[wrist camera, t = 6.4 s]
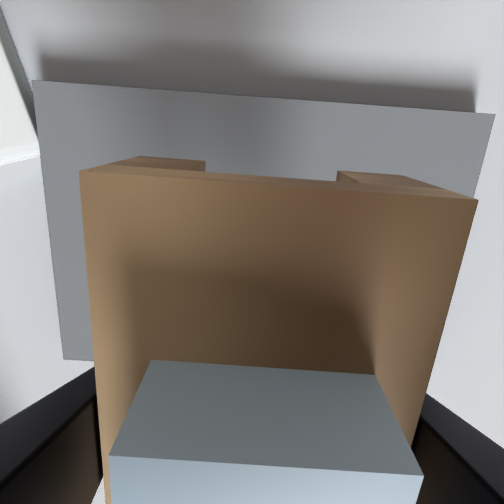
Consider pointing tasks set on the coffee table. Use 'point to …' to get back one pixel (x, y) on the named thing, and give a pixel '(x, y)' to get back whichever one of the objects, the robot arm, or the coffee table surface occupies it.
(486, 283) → the coffee table surface
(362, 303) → the board
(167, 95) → the slate dock
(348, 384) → the pale blue square block
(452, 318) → the coffee table surface
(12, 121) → the external hard drive
